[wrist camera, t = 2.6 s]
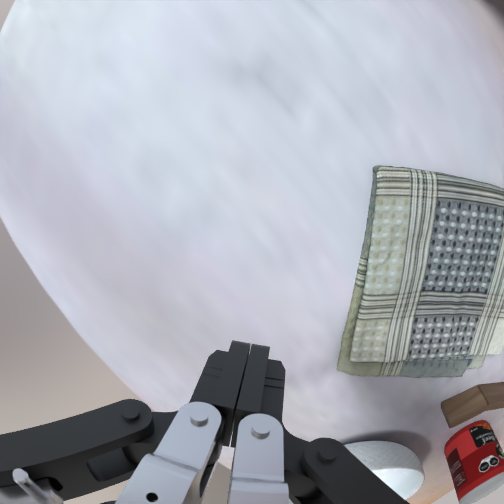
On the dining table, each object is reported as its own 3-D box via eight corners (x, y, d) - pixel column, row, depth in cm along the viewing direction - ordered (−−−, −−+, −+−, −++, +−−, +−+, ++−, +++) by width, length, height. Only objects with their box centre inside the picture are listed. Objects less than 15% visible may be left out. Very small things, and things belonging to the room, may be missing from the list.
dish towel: (366, 159, 19) (378, 160, 16) (528, 196, 17) (549, 202, 14) (332, 367, 25) (335, 390, 22) (478, 362, 23) (490, 379, 20)
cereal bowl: (369, 401, 26) (379, 454, 19) (433, 442, 27) (444, 480, 21) (262, 460, 31) (255, 503, 25) (340, 490, 33) (341, 525, 26)
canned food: (494, 423, 26) (517, 474, 15) (456, 454, 28) (472, 505, 18) (477, 413, 25) (503, 472, 15) (434, 448, 28) (450, 507, 18)
